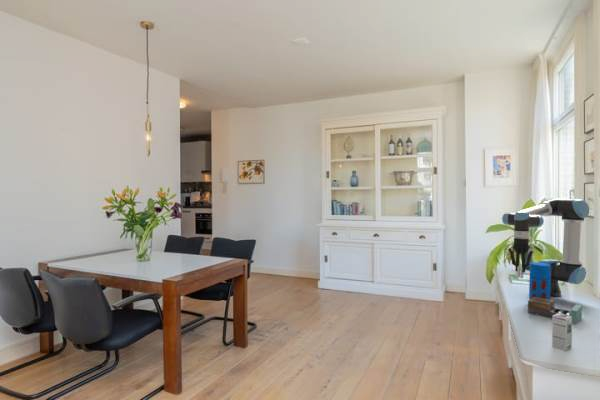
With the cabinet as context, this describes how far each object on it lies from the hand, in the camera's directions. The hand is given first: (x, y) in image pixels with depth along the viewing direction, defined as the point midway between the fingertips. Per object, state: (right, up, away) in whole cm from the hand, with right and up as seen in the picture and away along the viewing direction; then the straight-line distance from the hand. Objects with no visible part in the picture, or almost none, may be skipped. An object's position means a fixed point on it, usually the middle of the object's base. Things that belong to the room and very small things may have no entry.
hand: (520, 277), depth 217 cm
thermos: (+16, -19, +8) cm, 26 cm away
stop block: (+19, -19, -19) cm, 33 cm away
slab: (+7, -16, -8) cm, 19 cm away
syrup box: (-13, -20, -53) cm, 58 cm away
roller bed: (+11, -19, -11) cm, 24 cm away
